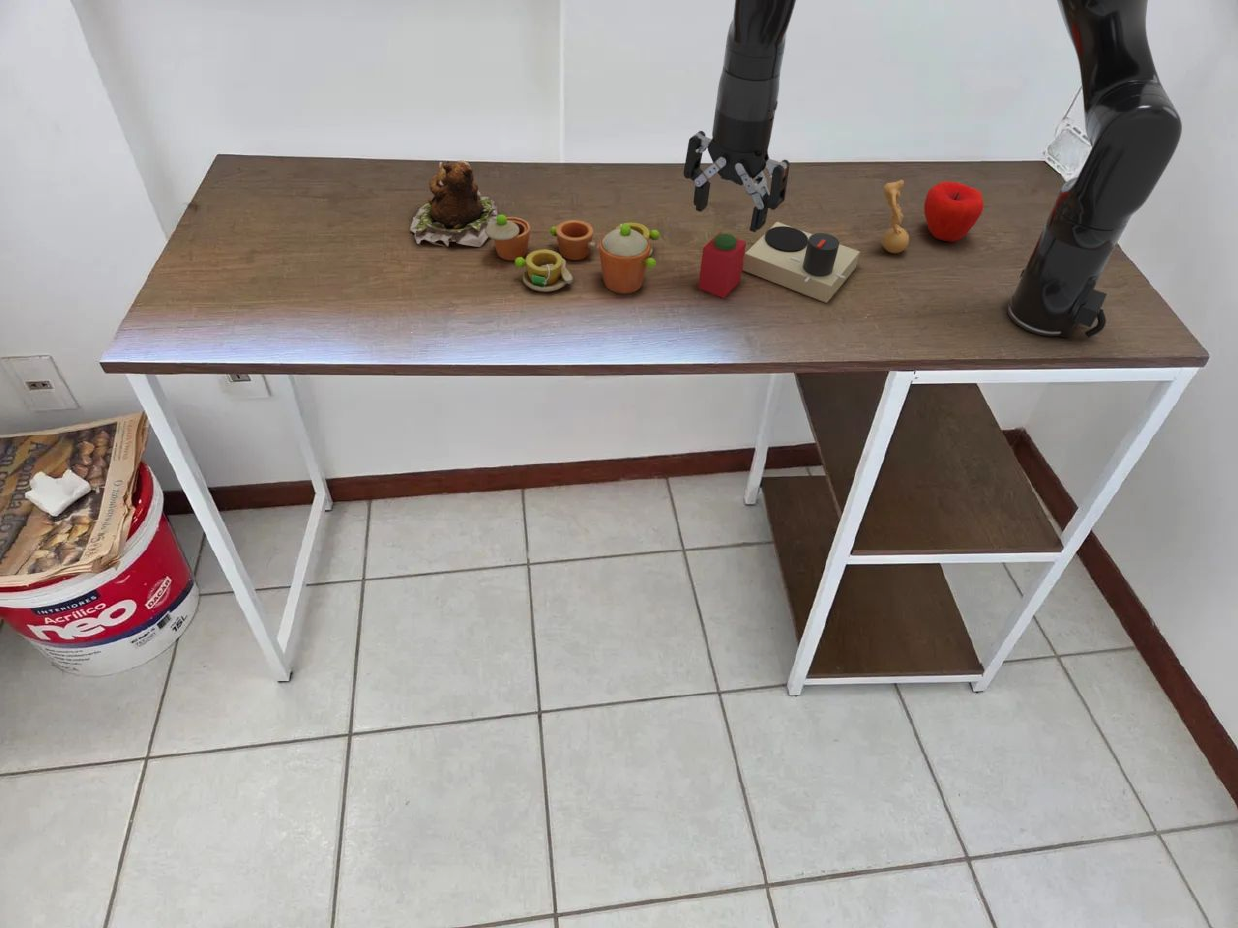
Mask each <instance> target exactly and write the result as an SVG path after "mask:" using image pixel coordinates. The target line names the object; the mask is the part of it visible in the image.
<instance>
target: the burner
mask: <svg viewBox="0 0 1238 928" xmlns="http://www.w3.org/2000/svg"><path fill="white" fill-rule="evenodd" d="M792 227H793V226H790V227H786V226H779V227H774V228H771V227H770V228H771V229H770V228H769V229H768V230H767V231H766V232H765V233H766V234H765V233H764V234H765V241H766V243H767V244H768V245H769V246H770V247H772V248H774V249H776V250H779V251H783V252H798V251H801V250H803V249H805V248H806V247H807V244H808V237H807V236H806V234H804V233H803V232H802V231H803V230H802V231H800V230H801V229H799V228H797V227H796V228H795V227H793V228H792ZM798 229H799V230H798Z"/></svg>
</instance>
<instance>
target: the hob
mask: <svg viewBox="0 0 1238 928" xmlns="http://www.w3.org/2000/svg"><path fill="white" fill-rule="evenodd" d="M779 226H786V227H792V228H794V227H793V226H791V225H788V224H784V223H782V222H779V221H776V222H775V223H774V224H773V225H772V226H771V227H770V228H769V229H771V228H774V227H779ZM797 229H798V230H800V231H802V232H803V233H804V234H806V236H807V237H808V240H809V237H810V236H811V235H813V234H814V233H810V232H807V231H804V230H801V229H799V228H797ZM765 234H766V232H765V233H764V234H763V235H762V236H761V237H760V238H759V239H757V241H756V242H755V243H754V244H753V245H752V246H751V247H750V248H749V249H748V250H747V251H745V253H744V259H743V265H742V271H743V272H746V273H748V274H751V275H754V276H755V277H759V278H761V279H763V280H767V281H769V282H772V283H775V284H776V285H780V286H782V287H784V288H787V289H789V290H792V291H795V292H798V293H800V294H803V295H805V296H807V297H810V298H813V299H815V300H818V301H821V302H823V303H826V304H828V302H829V301H830V300H831V299H832V298H833V296H834V295H835V294H836V293H837V292H838V290H839V289H840V288H841V286H842V285H843V284H844V283H845V282H846V281H847V279H848V278H849V277H850V276H851V275H852V273H853V272H854V271H855V270H856V268H857V265H858V262H859V258H860V254H861V251H860V250H857V249H855V248H851V247H848V246H846V245H843V244H840V243H839V248H838V252H837V255H836V259H835V263H834V267H833V271H832V273H831V274H829V275H827V276H814V275H811V274H809V273H807V272H806V271H805V270H804V269H803V262H804V257H805V253H806V249H807V247H806V248H805V249H803V250H801V251H798V252H783V251H779V250H776V249H774V248H772V247H770V246H769V245H768V244H767V243H766V241H765Z"/></svg>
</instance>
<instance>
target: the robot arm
mask: <svg viewBox="0 0 1238 928" xmlns="http://www.w3.org/2000/svg"><path fill="white" fill-rule="evenodd" d="M1056 2H1057V5H1058V8H1059V11H1060V15H1061V17H1062V18H1061V19H1062V21H1063V25H1064V27H1065V30H1066V31H1067V34H1068V36H1069V39H1070V42H1071V44H1072V46H1073V49H1074V51H1075V54H1076V57H1077V62H1078V68H1079V76H1080V82H1081V90H1082V91H1081V92H1082V102H1083V117H1084V128H1085V129H1084V130H1085V134H1086V136H1087V137H1086V138H1087V139H1088V142H1089V144H1090V147H1091V149H1090V151H1089V153H1088V156H1087V158H1086V160H1085V162H1084V164H1083V166H1082V167H1081V169H1080V172H1079V174H1078V175H1077V176H1075V177H1073V178H1070V179H1068V180H1067V181H1066V182H1065V183H1064V184H1063V185H1062V187H1061V188H1060V190H1059V193H1058V195H1057V198H1056V199H1055V202H1054V204H1053V206H1052V209H1051V210H1050V213H1049V215H1048V218H1047V220H1046V222H1045V224H1044V227H1043V228H1042V231H1041V233H1040V235H1039V237H1038V239H1037V241H1036V244H1035V246H1034V249H1033V250H1032V253H1031V254H1030V256H1029V257H1030V258H1029V259H1028V262H1027V264H1026V266H1025V268H1024V269H1022V271H1021V273H1020V276H1019V278H1020V279H1019V282H1018V284H1017V286H1016V288H1015V291H1014V292H1013V294H1012V297H1011V299H1010V300H1009V302H1008V305H1007V307H1006V308H1007V309H1006V311H1007V314H1008V316H1009V318H1010V319H1011V320H1012V321H1013V322H1014V323H1015V324H1016V326H1019V327H1020V328H1022V329H1023V330H1026V331H1028V332H1030V333H1032V334H1036V335H1039V336H1044V337H1061V338H1064V339H1069V337H1070V335H1071V333H1072V330H1074V328H1075V325H1076V323H1077V324H1080V325H1083V326H1085V327H1089V329H1088V330H1086V331H1085V332H1084V335H1085V337H1087V338H1088V339H1089V338H1091V337H1093V336H1095V335H1097V334H1099V333H1100V332H1101V331H1102V330H1103V329H1104V328H1105V326H1106V323H1107V317H1106V314H1105V312H1104V309H1102V306H1103V304H1104V303H1105V300H1106V298H1107V296H1108V293H1105V292H1102V291H1100V290H1097V289H1095V287H1096V285H1097V283H1098V281H1099V279H1100V277H1101V275H1102V273H1103V271H1104V269H1105V267H1106V266H1107V263H1108V261H1109V260H1110V257H1111V256H1112V253H1113V251H1114V250H1115V247H1116V246H1117V244H1118V242H1119V240H1120V238H1121V237H1122V235H1123V232H1124V231H1125V229H1126V227H1127V225H1128V223H1129V221H1130V220H1131V218H1132V216H1133V215H1134V214H1135V213H1137V212H1138V211H1139V210H1140V209H1141V208H1142V207H1143V206H1144V204H1145V203H1146V202H1147V201H1148V199H1149V198H1150V197H1151V194H1152V193H1153V192H1154V189H1155V188H1156V186H1157V184H1158V183H1159V181H1160V179H1161V177H1162V176H1163V173H1164V172H1165V171H1166V169H1167V167H1168V165H1169V164H1170V162H1171V160H1172V159H1173V156H1174V154H1175V152H1176V150H1177V148H1178V146H1179V143H1180V141H1181V137H1182V133H1183V123H1182V119H1181V116H1180V115H1179V112H1178V110H1177V109H1176V107H1175V106H1174V104H1173V102H1172V101H1171V99H1170V97H1169V94H1167V92H1166V90H1165V89H1164V87H1163V84H1162V82H1161V80H1160V77H1159V75H1158V72H1157V69H1156V66H1155V63H1154V59H1153V55H1152V52H1151V49H1150V44H1149V40H1148V33H1147V32H1148V31H1147V11H1148V4H1149V3H1148V2H1149V0H1056ZM796 3H797V0H734V9H733V18H732V20H731V22H730V24H729V26H728V31H727V36H726V44H725V50H724V57H723V65H722V69H721V74H720V76H719V77H720V78H719V81H718V87H717V92H716V93H717V95H716V100H715V101H716V102H715V109H714V115H713V116H714V118H713V125H712V133H711V136H712V137H711V138H710V137H707V136H706V133H705V131H703V130H699V131H698V132H696V133H695V134H694V135H692V136H691V137H690V138H688V143H687V149H686V155H685V162H684V167H683V172H682V173H683V177H684V178H685V179H687V180H688V179H690V180H692V181H693V184H694V195H693V200H692V201H693V206H695V211H697V212H700V213H701V212H703V211H704V210H705V209H706V208H708V207H707V206H708V205H709V197H710V191H711V190H710V189H711V182H710V181H709V180H710V179H711V178H713V177H714V176H715V175H716V174H718V175H719V176H720V179H722V180H724V181H731V182H733V183H734V184H736V185H739V186H744V188H745V191H746V193H747V195H749V196H751V198H752V201H753V203H754V205H755V206H754V207H753V208H752V209H753V210H752V216H751V220H750V226H749V231H750V232H752V233H756V232H758V231H759V230H761V228H763V227H764V226H765V224H766V222H767V218H768V212H769V209H770V210H771V211H775V210H776V209H778V208H779V206H780V205H781V204H782V203H784V202H785V199H786V193H787V186H788V180H789V172H790V165H791V164H790V161H788V159H783V160H781V161H778V160H775V159H771V158H770V156H769V147H770V143H771V136H772V132H773V127H774V120H775V115H776V111H777V108H778V104H779V101H778V99H779V94H780V93H779V92H780V77H781V71H782V65H783V59H784V54H785V49H786V43H787V41H786V40H787V32H788V29H789V25H790V22H791V19H792V16H793V13H794V9H795V6H796ZM706 150H707V152H708V154H709V157H710V159H711V161H712V164H711V165H710V166H709V167H707V168H706V169H705V170H704V171H703V170H702V169H701V163H702V159H703V158H702V157H703V154H704V152H705V151H706ZM765 169H766V170H767V171H768V178H769V179H771V183H770V190H769V188H768V186H767V185H768V179H767V178H766V176H765V173H764V170H765ZM754 179H755V182H754ZM1096 318H1097V323H1096V325H1095V326H1094V327H1092V326H1093V325H1094V322H1095V321H1096Z"/></svg>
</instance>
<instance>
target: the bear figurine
mask: <svg viewBox="0 0 1238 928" xmlns="http://www.w3.org/2000/svg"><path fill="white" fill-rule="evenodd" d="M473 171H474V169H473V168H472V167H471V165H470V163H469V162H468V161H466V160H464V159H461V160H457V161H455V162H453V163H451V162H450V161H447V162H446V163H444V164H443V162H442V161H439V162H438V170H437V173H436V174H434V175H433V176H432V177H431V178H430V180H429V182H428V187H429V191H430V192H431V193H432V194H433V195H432V196H430V197H429V198H428V201H427V203H425V204H424V205H422V206H420V207H419V209H418V210H417V212H416V214H415V215H414V216H413V217H412V222H411V225H410V228H409V230H410V232H411V233H414V239H415V242H416V244H417V245H420V244H421V241H423V240H425V241H427V242H429V243H430V244H433V245H437V246H442V247H445V246H446V247H449V245H450V242H456V244H459V245H464V246H471V247H477V248H481V247H482V245H484V243H485V242H486V241H487V239H488V238H489V237H488V236H487V235H486V233H485V228H486V227H487V225H488V224H490V223H491V222H493V221H496V219H497V216H498V215H499V214H498V208H497V202H496V201H494V200H492V199H490V197H488V196H482V194H481V192H480V191H479V186H478V184H477V183H476V182H475V181H474V180H475V179H474V178H475V176H474V173H473ZM438 241H442V242H443V244H441V243H437V242H438ZM444 244H445V245H444Z"/></svg>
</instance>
